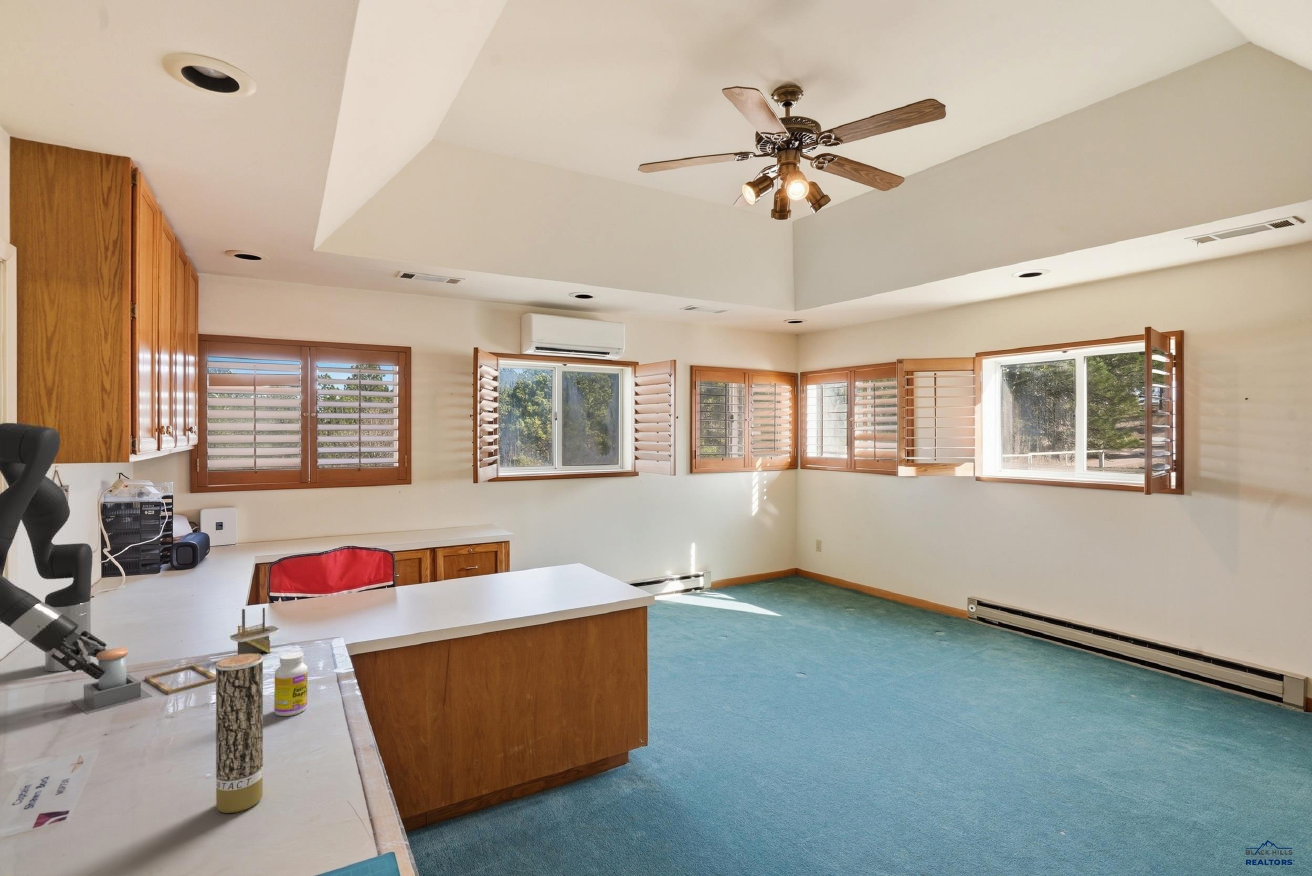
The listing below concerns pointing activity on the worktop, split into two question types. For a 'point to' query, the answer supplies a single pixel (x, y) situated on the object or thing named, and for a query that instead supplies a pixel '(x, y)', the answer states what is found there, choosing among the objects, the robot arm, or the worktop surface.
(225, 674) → the paper tube
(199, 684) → the tray
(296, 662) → the supplement bottle
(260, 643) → the architectural model
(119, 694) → the housing
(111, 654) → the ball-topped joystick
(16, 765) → the worktop surface
